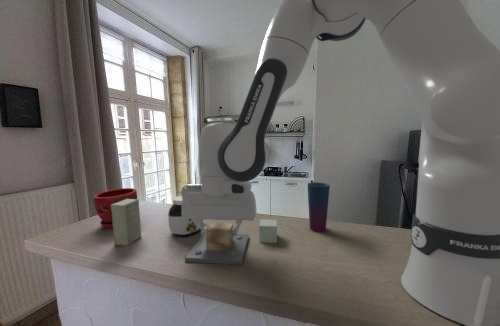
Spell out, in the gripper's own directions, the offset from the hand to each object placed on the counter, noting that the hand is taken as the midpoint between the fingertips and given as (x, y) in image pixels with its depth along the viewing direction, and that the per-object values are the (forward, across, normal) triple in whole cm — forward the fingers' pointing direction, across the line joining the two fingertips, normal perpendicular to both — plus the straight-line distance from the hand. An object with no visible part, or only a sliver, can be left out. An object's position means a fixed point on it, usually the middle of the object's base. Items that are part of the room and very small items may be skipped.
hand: (219, 234), depth 56 cm
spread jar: (+4, -14, +11) cm, 18 cm away
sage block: (+4, +13, +7) cm, 15 cm away
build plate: (+4, 0, 0) cm, 4 cm away
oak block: (+3, 0, 0) cm, 3 cm away
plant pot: (+4, -42, +14) cm, 45 cm away
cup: (+4, +29, +15) cm, 33 cm away
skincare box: (+4, -29, +2) cm, 29 cm away
